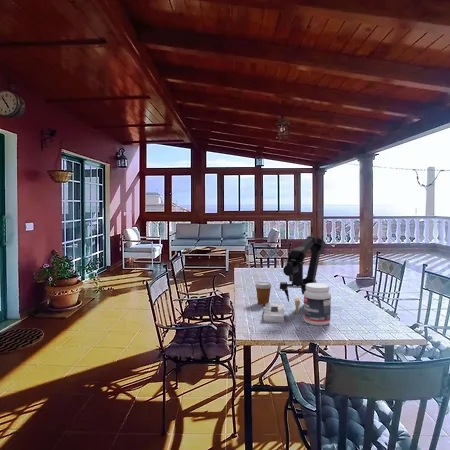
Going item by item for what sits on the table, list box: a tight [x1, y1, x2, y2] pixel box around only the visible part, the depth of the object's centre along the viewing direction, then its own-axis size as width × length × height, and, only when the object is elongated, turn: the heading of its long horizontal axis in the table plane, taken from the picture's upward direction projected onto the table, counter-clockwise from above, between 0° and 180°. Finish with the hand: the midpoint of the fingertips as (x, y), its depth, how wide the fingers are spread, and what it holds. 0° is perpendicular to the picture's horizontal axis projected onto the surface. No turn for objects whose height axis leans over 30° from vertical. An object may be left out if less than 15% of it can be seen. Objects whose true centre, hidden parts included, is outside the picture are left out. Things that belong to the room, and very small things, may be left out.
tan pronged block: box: [294, 297, 301, 315], centre depth 192 cm, size 2×7×7 cm, turn 171°
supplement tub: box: [303, 282, 332, 327], centre depth 175 cm, size 13×13×18 cm
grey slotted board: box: [263, 302, 285, 324], centre depth 187 cm, size 10×24×3 cm, turn 171°
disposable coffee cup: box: [254, 281, 272, 306], centre depth 209 cm, size 10×10×12 cm
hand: (297, 301), depth 192 cm, fingers open, 9 cm apart
